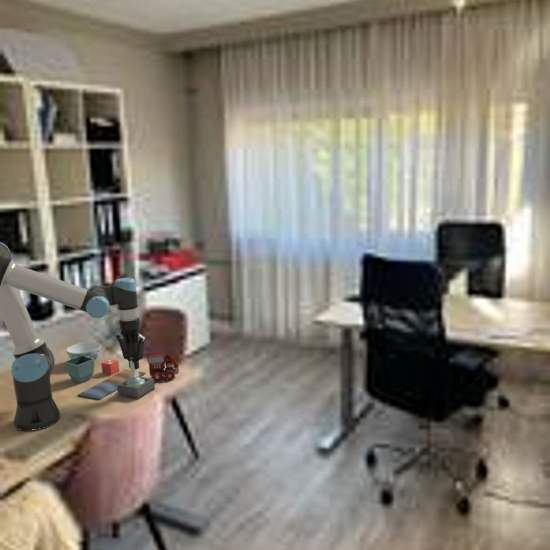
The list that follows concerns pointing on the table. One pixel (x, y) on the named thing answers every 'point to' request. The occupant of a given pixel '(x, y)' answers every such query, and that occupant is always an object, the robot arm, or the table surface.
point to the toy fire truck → (162, 367)
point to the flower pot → (80, 368)
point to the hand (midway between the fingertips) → (135, 376)
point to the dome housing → (135, 388)
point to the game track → (107, 385)
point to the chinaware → (84, 350)
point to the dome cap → (135, 381)
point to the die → (110, 367)
